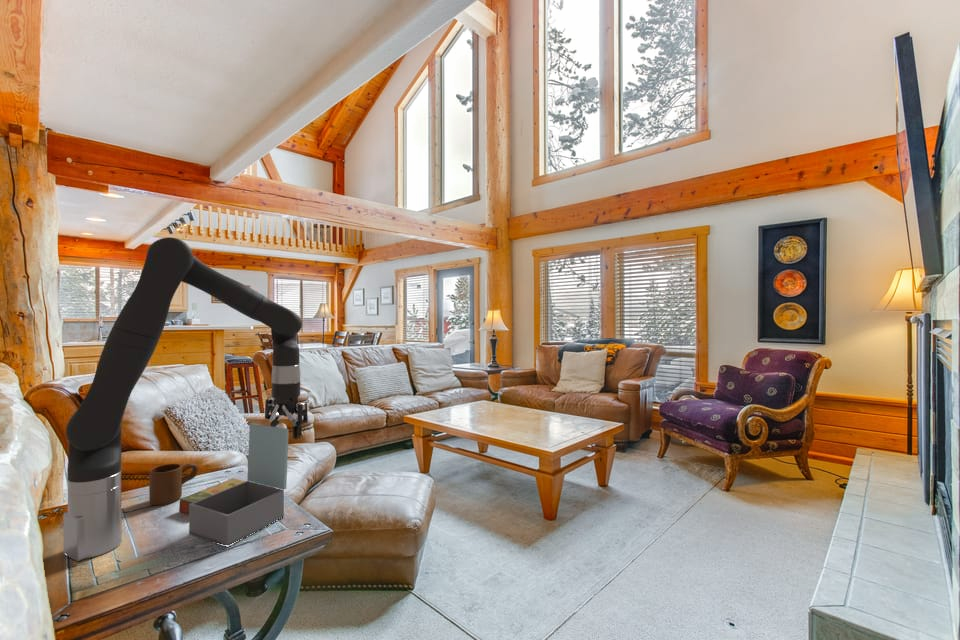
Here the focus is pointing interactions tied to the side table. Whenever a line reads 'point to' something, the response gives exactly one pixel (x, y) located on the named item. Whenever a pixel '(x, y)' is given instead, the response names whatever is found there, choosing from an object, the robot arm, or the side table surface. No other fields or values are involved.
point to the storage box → (235, 512)
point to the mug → (168, 482)
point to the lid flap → (268, 455)
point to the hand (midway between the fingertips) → (285, 436)
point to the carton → (206, 494)
